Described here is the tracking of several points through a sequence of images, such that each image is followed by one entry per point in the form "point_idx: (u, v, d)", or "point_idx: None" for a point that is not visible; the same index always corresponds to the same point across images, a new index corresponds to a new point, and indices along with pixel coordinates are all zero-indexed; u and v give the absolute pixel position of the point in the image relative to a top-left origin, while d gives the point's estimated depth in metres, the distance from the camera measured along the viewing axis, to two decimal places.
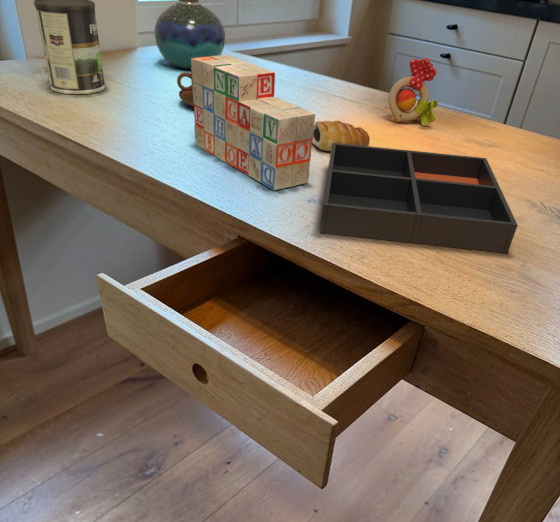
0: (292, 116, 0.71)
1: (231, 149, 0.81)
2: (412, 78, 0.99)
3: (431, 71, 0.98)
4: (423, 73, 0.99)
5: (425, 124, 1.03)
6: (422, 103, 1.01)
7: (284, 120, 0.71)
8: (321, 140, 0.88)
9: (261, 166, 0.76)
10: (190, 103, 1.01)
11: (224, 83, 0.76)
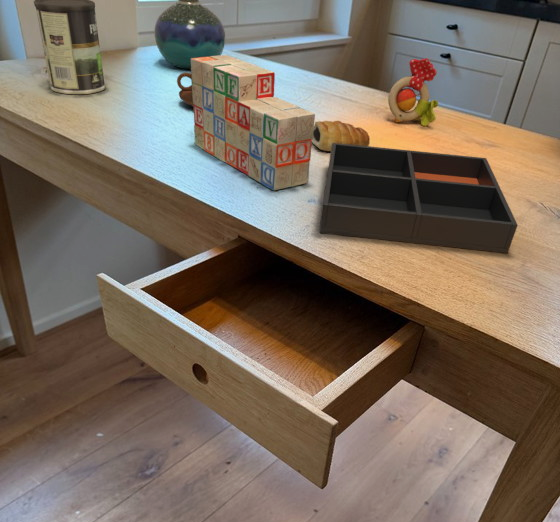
0: (292, 116, 0.71)
1: (231, 149, 0.81)
2: (412, 78, 0.99)
3: (431, 71, 0.98)
4: (423, 73, 0.99)
5: (425, 124, 1.03)
6: (422, 103, 1.01)
7: (284, 120, 0.71)
8: (321, 140, 0.88)
9: (261, 166, 0.76)
10: (190, 103, 1.01)
11: (224, 83, 0.76)
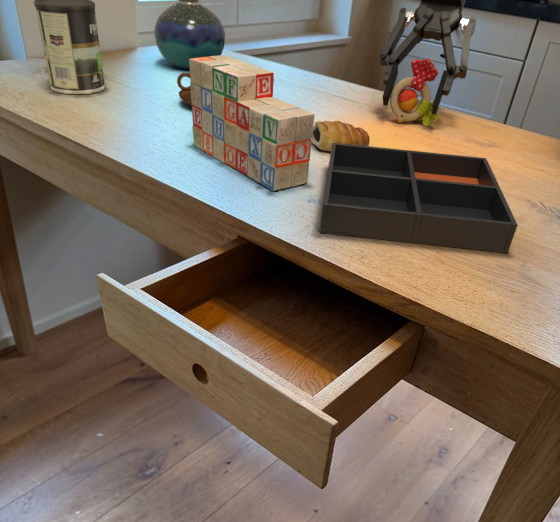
0: (291, 116, 0.71)
1: (230, 149, 0.80)
2: (414, 78, 0.99)
3: (432, 72, 0.98)
4: (425, 73, 0.99)
5: (427, 124, 1.03)
6: (424, 103, 1.01)
7: (284, 121, 0.70)
8: (321, 140, 0.88)
9: (261, 166, 0.76)
10: (190, 103, 1.01)
11: (223, 83, 0.76)
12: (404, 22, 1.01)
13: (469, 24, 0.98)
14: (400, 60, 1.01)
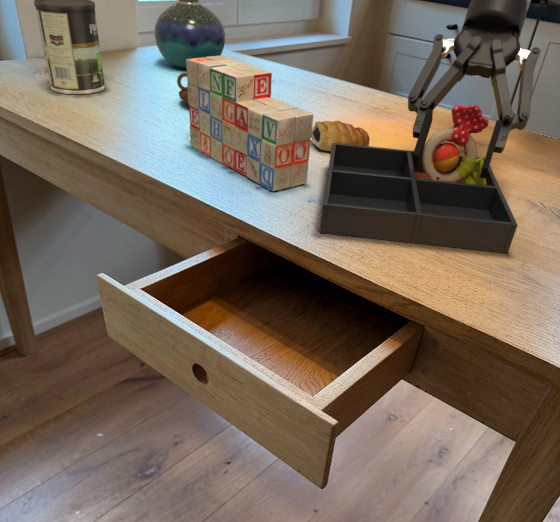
0: (291, 117, 0.71)
1: (228, 150, 0.80)
2: (455, 130, 0.73)
3: (481, 122, 0.72)
4: (470, 124, 0.73)
5: None
6: (468, 162, 0.75)
7: (283, 121, 0.70)
8: (321, 140, 0.88)
9: (260, 167, 0.76)
10: None
11: (221, 84, 0.76)
12: (441, 54, 0.75)
13: (531, 57, 0.72)
14: (435, 104, 0.76)
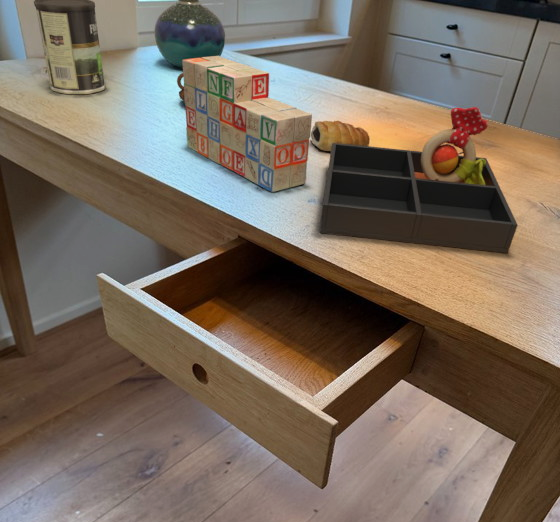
0: (290, 117, 0.71)
1: (226, 151, 0.80)
2: (454, 132, 0.73)
3: (480, 124, 0.72)
4: (469, 126, 0.73)
5: None
6: (467, 164, 0.75)
7: (282, 121, 0.70)
8: (321, 140, 0.88)
9: (259, 167, 0.75)
10: None
11: (218, 84, 0.76)
12: None
13: None
14: None
